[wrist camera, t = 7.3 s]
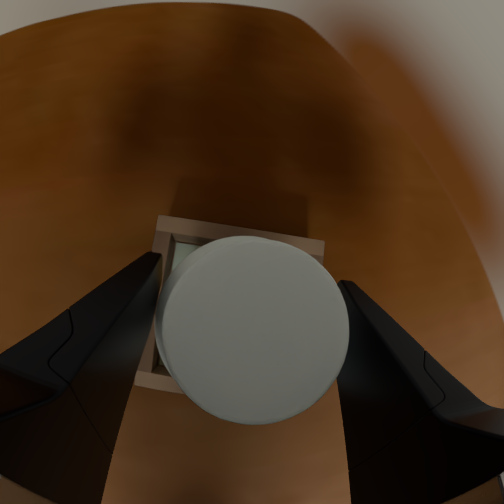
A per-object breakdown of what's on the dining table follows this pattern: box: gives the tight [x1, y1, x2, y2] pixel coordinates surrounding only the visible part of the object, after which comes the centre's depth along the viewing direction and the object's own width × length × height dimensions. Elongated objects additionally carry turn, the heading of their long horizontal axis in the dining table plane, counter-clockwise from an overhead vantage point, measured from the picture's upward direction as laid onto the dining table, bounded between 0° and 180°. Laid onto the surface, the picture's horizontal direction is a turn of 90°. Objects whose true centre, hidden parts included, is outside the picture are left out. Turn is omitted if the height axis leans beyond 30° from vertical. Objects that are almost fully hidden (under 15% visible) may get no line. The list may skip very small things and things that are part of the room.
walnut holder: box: [134, 215, 325, 394], centre depth 16 cm, size 9×9×3 cm
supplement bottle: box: [154, 236, 349, 425], centre depth 11 cm, size 5×5×10 cm
